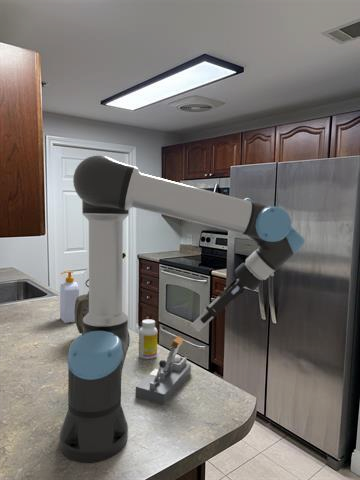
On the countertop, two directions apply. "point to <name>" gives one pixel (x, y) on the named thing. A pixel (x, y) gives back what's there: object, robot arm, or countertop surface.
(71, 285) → the soap bottle
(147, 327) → the supplement bottle
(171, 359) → the paddle lever
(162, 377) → the switch panel
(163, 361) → the toggle switch
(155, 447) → the countertop surface
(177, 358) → the push button
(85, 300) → the tabletop clock
